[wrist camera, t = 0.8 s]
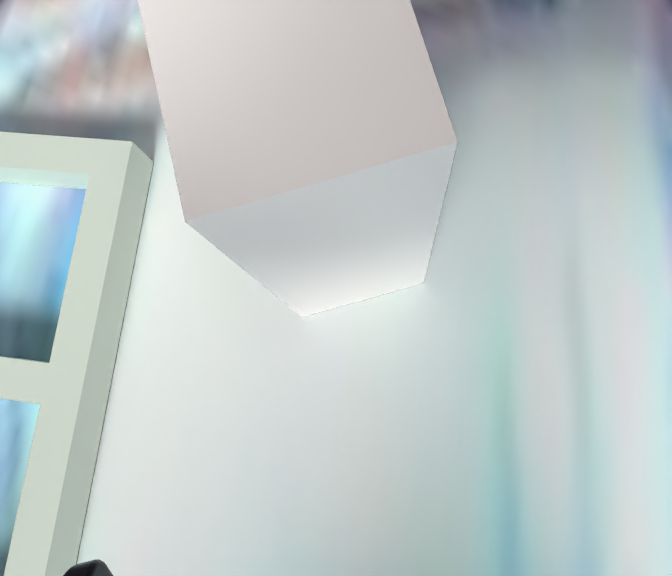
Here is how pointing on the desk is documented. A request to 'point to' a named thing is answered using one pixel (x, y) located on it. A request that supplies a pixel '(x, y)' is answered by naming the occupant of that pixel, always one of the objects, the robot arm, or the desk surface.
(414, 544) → the desk surface
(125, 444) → the desk surface
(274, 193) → the white upright block
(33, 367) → the socket board
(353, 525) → the desk surface
